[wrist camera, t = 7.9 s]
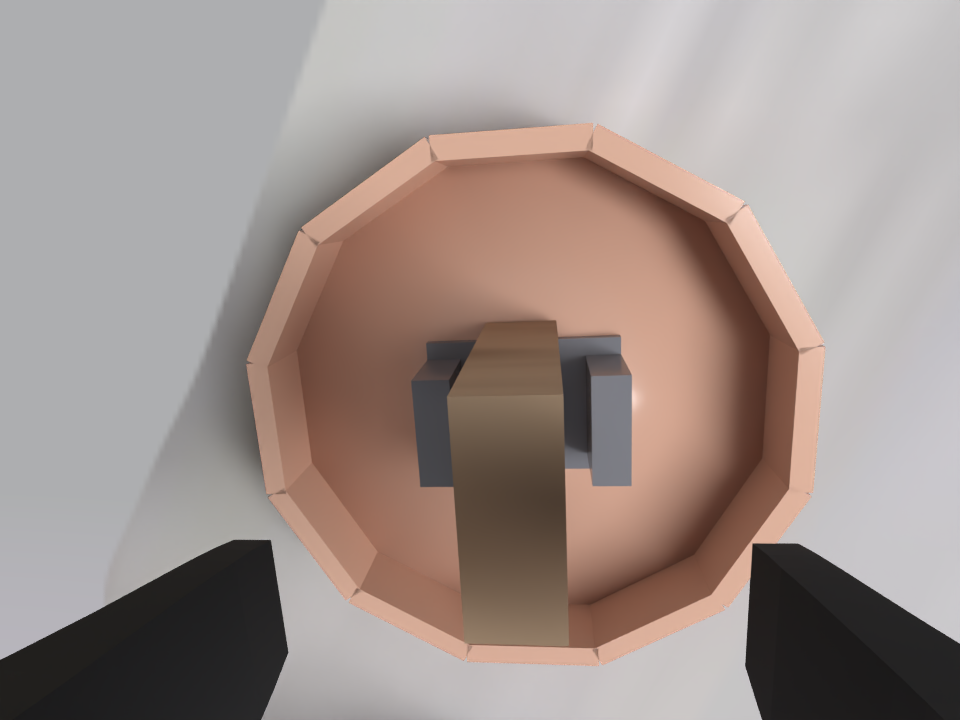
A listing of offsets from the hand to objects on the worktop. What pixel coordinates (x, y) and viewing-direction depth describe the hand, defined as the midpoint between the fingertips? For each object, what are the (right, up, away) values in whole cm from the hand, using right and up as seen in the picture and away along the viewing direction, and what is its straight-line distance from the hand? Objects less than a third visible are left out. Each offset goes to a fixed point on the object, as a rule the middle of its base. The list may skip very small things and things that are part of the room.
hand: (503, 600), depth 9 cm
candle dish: (+1, +2, +9) cm, 10 cm away
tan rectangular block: (+1, +2, +9) cm, 9 cm away
